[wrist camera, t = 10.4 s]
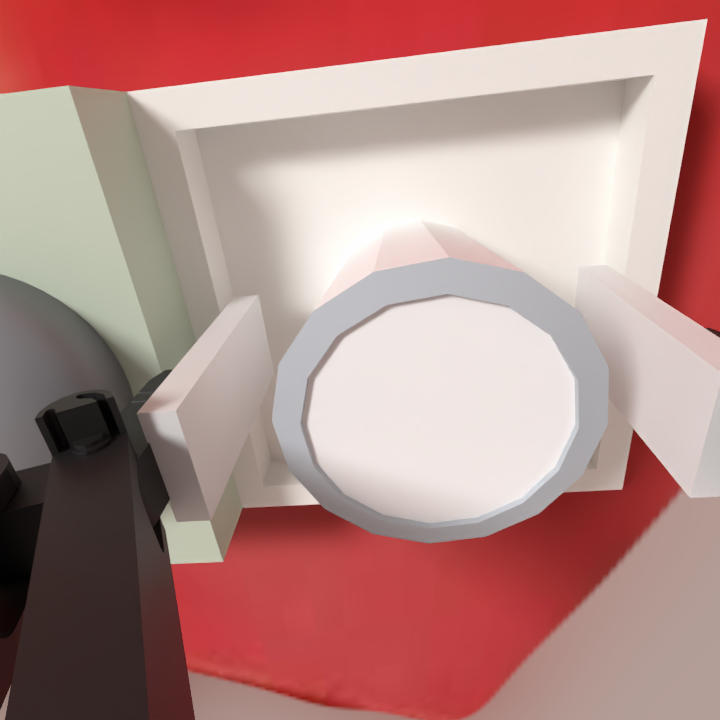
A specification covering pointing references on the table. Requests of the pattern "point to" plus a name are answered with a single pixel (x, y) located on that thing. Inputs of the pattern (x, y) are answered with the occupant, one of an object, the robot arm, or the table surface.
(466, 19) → the table surface
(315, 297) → the knobbed tray panel
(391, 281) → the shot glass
